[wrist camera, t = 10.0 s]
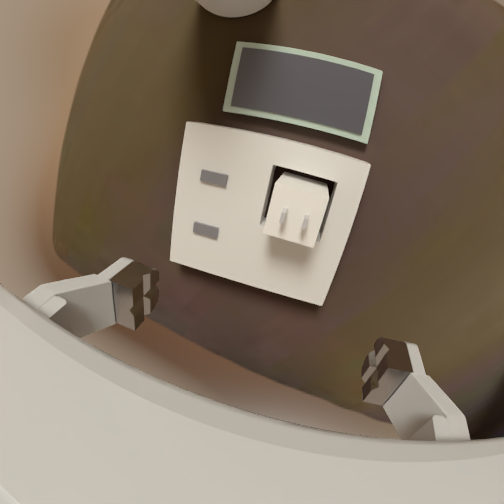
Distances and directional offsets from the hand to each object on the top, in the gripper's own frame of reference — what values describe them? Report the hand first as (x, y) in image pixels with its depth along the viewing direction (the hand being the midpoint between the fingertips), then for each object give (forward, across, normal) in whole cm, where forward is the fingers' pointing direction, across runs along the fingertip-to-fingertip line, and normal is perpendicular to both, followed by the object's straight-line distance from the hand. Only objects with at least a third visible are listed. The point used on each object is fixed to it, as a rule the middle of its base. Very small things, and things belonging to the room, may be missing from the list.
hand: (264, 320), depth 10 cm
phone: (+19, +2, -10) cm, 22 cm away
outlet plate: (+18, +3, +2) cm, 19 cm away
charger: (+18, 0, 0) cm, 18 cm away
